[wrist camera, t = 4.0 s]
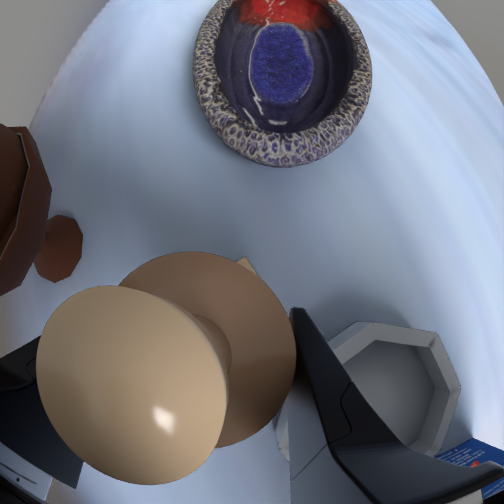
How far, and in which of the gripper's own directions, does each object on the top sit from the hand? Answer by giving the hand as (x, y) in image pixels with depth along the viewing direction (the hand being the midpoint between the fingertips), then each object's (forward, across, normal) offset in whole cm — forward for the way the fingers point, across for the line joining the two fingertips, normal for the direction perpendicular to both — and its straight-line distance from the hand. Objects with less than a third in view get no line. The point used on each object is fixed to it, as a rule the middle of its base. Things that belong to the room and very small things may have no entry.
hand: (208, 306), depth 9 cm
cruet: (+4, 0, +6) cm, 7 cm away
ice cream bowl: (+8, +14, +4) cm, 17 cm away
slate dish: (+2, -10, +11) cm, 15 cm away
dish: (+24, -2, -11) cm, 26 cm away
